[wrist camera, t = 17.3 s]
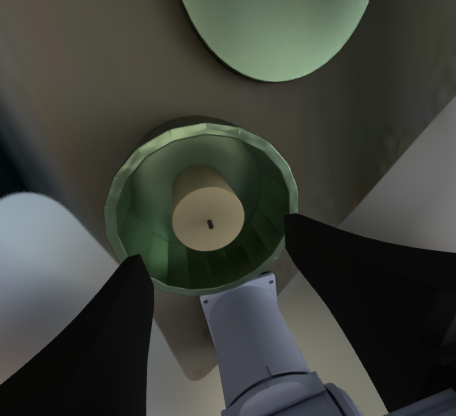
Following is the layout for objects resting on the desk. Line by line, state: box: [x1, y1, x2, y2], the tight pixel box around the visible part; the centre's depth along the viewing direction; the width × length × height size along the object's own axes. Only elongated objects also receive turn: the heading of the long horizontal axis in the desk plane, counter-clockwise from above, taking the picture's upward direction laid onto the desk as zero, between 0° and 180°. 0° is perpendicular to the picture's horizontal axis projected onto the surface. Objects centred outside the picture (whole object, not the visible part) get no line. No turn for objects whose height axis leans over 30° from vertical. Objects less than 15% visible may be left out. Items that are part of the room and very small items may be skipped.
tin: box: [104, 116, 298, 296], centre depth 15 cm, size 11×11×5 cm
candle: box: [172, 166, 244, 251], centre depth 15 cm, size 4×4×5 cm
